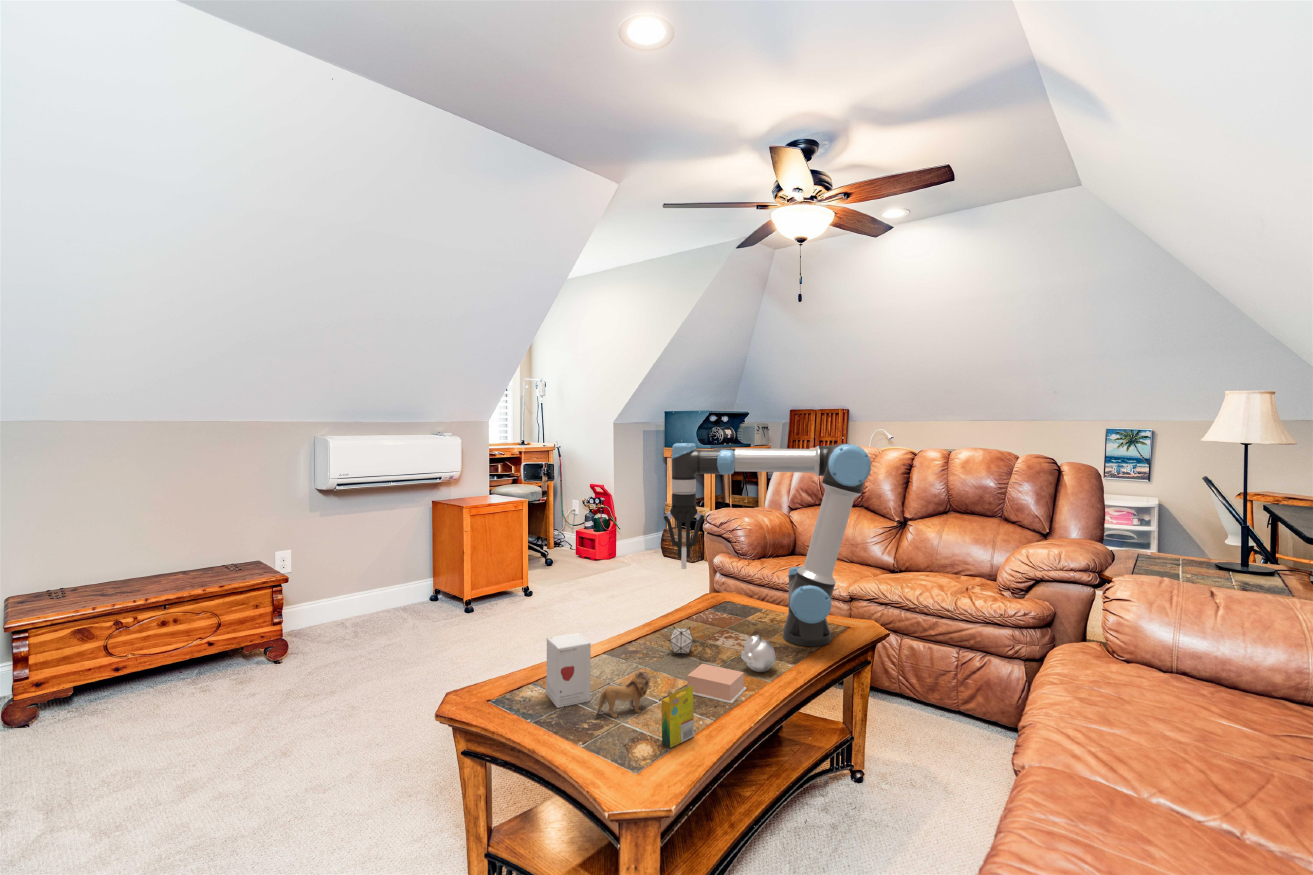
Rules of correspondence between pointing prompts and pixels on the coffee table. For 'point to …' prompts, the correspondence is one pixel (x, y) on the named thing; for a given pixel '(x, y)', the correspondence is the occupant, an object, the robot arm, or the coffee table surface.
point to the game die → (681, 640)
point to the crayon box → (677, 717)
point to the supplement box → (568, 669)
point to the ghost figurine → (758, 654)
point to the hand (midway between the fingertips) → (683, 567)
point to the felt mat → (723, 699)
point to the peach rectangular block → (716, 681)
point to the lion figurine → (625, 693)
